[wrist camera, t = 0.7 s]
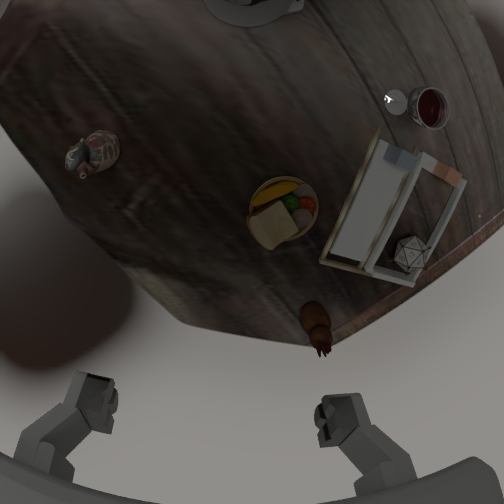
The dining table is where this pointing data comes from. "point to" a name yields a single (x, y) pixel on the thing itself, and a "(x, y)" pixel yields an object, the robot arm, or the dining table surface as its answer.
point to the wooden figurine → (317, 327)
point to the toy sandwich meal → (281, 211)
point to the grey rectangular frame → (423, 162)
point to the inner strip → (372, 199)
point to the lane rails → (346, 205)
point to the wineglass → (420, 106)
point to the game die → (411, 254)
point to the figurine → (93, 153)
